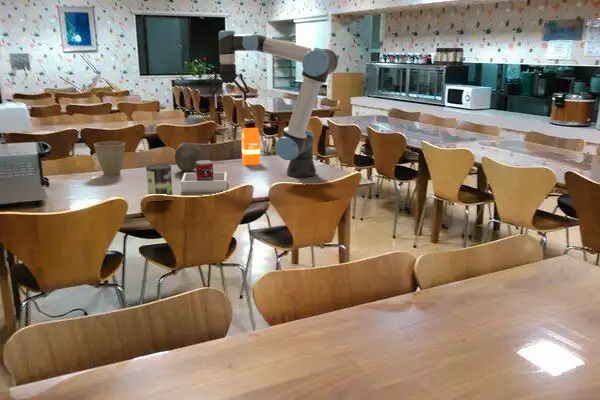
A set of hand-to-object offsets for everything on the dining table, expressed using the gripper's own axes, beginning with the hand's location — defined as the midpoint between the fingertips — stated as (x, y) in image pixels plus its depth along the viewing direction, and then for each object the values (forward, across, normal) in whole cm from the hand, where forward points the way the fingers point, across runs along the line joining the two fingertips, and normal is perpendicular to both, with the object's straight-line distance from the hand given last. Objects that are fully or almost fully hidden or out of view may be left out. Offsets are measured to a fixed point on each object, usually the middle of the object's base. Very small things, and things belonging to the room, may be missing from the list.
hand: (229, 107), depth 267 cm
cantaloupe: (+34, +23, -8) cm, 41 cm away
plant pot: (+33, +61, -6) cm, 70 cm away
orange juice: (+34, -10, -26) cm, 44 cm away
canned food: (+33, +13, +26) cm, 44 cm away
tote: (+34, +13, +26) cm, 45 cm away
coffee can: (+34, +32, +44) cm, 64 cm away
